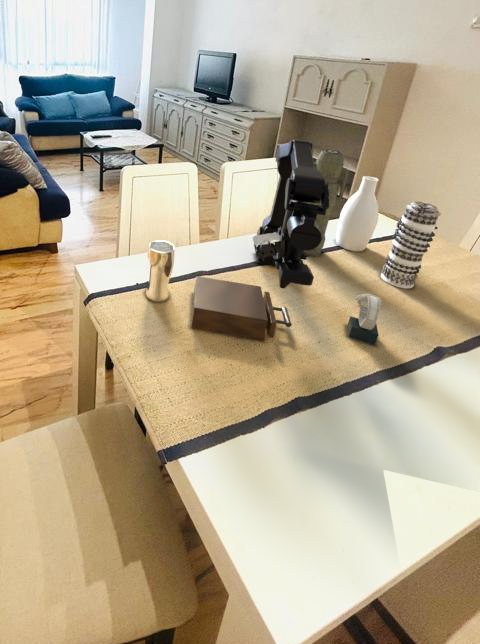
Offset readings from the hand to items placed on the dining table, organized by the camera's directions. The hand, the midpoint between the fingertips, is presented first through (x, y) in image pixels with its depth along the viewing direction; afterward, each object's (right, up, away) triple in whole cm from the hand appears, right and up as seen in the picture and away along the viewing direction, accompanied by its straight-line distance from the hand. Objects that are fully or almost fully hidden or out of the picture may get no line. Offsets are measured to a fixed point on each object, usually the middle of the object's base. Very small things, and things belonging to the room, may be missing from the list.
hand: (281, 287), depth 91 cm
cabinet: (-12, -9, +6) cm, 16 cm away
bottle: (+43, +3, +45) cm, 63 cm away
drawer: (-7, -9, +5) cm, 12 cm away
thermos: (+26, +3, +41) cm, 49 cm away
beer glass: (-29, -5, +13) cm, 32 cm away
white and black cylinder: (+46, -4, +26) cm, 53 cm away
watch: (+20, -12, +2) cm, 23 cm away
